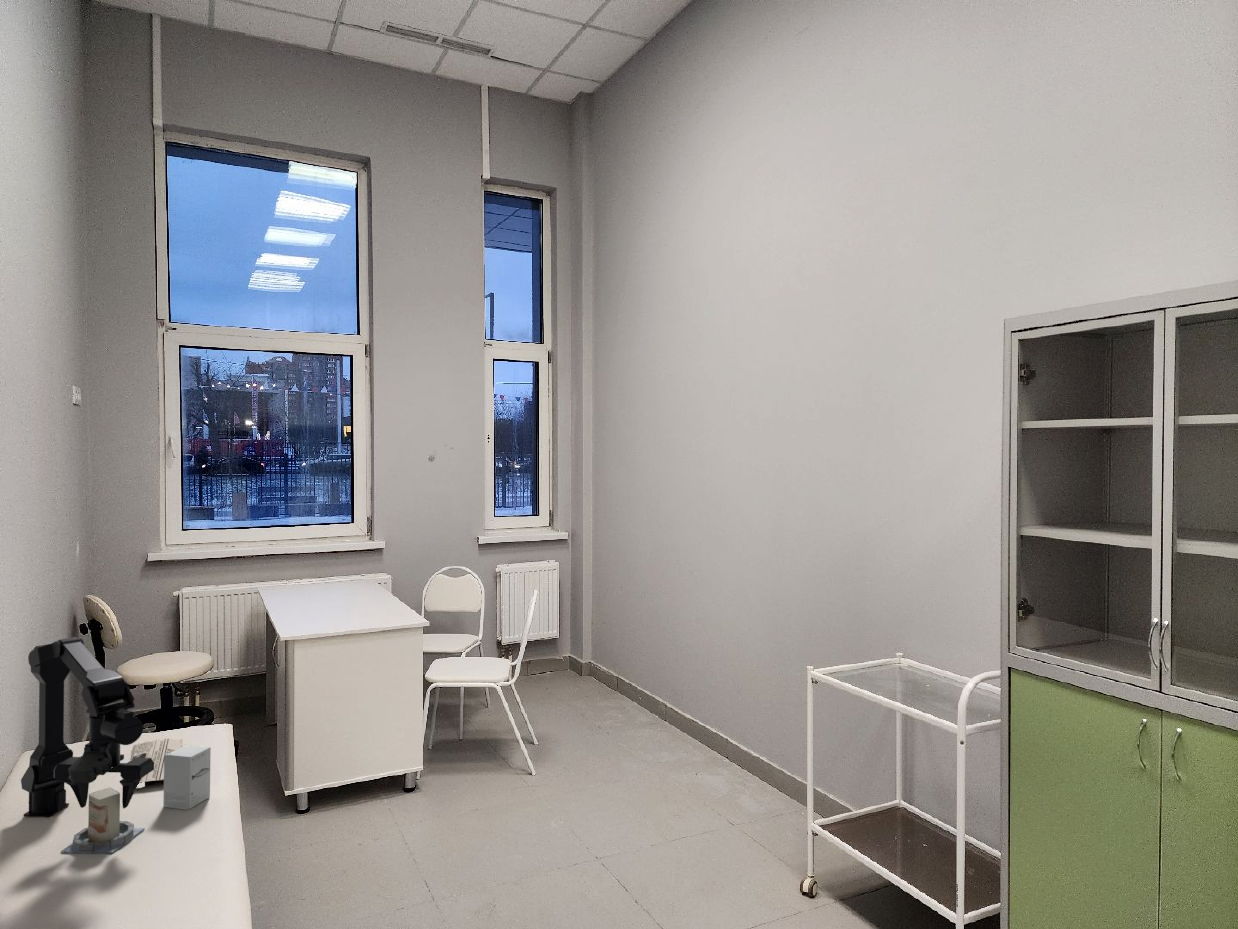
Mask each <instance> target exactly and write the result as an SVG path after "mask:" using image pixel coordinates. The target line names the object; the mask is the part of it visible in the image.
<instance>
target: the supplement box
mask: <svg viewBox="0 0 1238 929" xmlns="http://www.w3.org/2000/svg"><path fill="white" fill-rule="evenodd" d="M211 748H212V747H211V746H201V745H187V744H185V745H183V746H181V748H179V749H177V750H175V751H173V752H171V753H168V754H166V755H164V780H163V800H162V801H163V802H162V803H163V804H162V805H163V807H164V808H170V809H176V810H177V809H178V810H191V809H192V808H194V807H195V806H197V805H198V804H200V803H202V802H204V801H205V800H207V799H209V798H210V797H211V753H212V752H211V751H212V750H211Z"/></svg>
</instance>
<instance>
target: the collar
mask: <svg viewBox="0 0 1238 929" xmlns="http://www.w3.org/2000/svg"><path fill="white" fill-rule="evenodd" d="M145 829H146V828H145V827H135V824H134V823H132V822H130V821H127V820H120V834H119V836H118V837H115V838H112V839H110V840H105V841H100V842H92V841H90V840H89V839H88V827H86V828H83V829H81V830H79V831H78V832H77V833H75V834H74V835H73V839H72V843H70V844H69V845H68V846H66V847H65V848H63V849H62V850H60V854H91V855H92V854H95V855H96V854H98V855H99V854H100V855H101V854H103V855H104V854H105V855H110V854H111V855H113V854H114V853H116V852H117V851H118V850H121V848H122V847H124V846H125V845H126V844H128V843H129V842H131V840H133V839H134V838H136V837H137V836H138V835H140V834H141V833H142V832H144V831H145Z"/></svg>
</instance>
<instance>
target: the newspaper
mask: <svg viewBox="0 0 1238 929" xmlns="http://www.w3.org/2000/svg"><path fill="white" fill-rule="evenodd" d="M182 745H183V738H182V739H174V738H170V737H169V738H160V739H152V740H150V739H149V740H145V741H142V742H138V743H135V744H134V745H133V746H132V750H131V758H130V761H131V760H133V759H134V758H151V759H152V760H153V761H154V770H153V771H151V772H150V773H148V774H147V775H145V776H144V777H142V779H141V780H140V782H139V783H142V782H146V783H147V782H152V781H154V782H155V781H164V755H166V754H168V753H171V752H173V751H175V750H177V749H179V748H181V747H183V746H182Z"/></svg>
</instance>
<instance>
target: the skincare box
mask: <svg viewBox="0 0 1238 929" xmlns="http://www.w3.org/2000/svg"><path fill="white" fill-rule="evenodd" d="M120 810H121V792H119V791H117V790H116V789H114V788H111V787H106V788H103V789H101V790H97V791H93V792H91V793H88V825H87V826H88V827H87V828H88V839H89V840H90V841H92V842H100V841H105V840H110V839H112V838H115V837H118V836H119V834H120V821H121V820H120V819H121V818H120V815H121V813H120V812H121V811H120Z"/></svg>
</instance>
